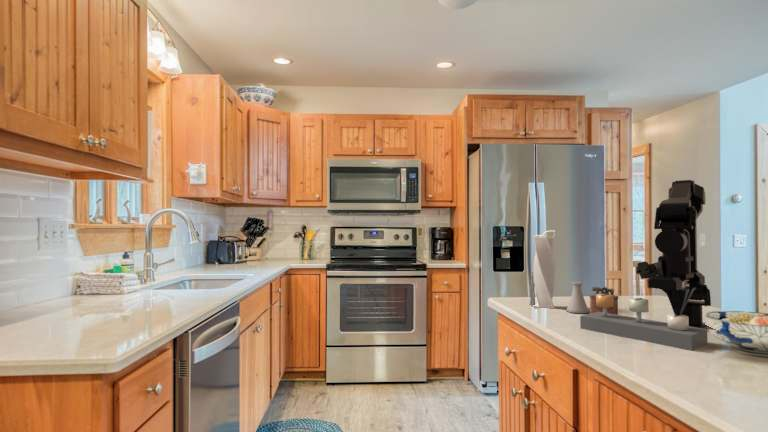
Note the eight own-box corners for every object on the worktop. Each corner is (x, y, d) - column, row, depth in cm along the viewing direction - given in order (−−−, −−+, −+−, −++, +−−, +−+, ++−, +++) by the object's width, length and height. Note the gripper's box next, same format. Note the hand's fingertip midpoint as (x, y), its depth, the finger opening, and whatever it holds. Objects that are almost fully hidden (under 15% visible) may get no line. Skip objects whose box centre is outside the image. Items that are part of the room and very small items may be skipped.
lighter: (619, 319, 131) (618, 287, 131) (618, 321, 128) (617, 288, 128) (590, 316, 135) (589, 285, 135) (589, 318, 132) (588, 286, 132)
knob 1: (601, 315, 122) (600, 292, 123) (616, 318, 119) (616, 294, 119) (593, 317, 120) (592, 294, 120) (609, 320, 116) (608, 296, 116)
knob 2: (671, 338, 108) (671, 312, 108) (692, 342, 104) (691, 315, 104) (664, 341, 105) (663, 314, 105) (685, 345, 101) (684, 317, 102)
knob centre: (634, 321, 115) (633, 296, 115) (651, 324, 111) (651, 298, 112) (626, 323, 112) (626, 298, 113) (644, 326, 109) (643, 300, 109)
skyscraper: (553, 305, 156) (551, 230, 156) (560, 310, 148) (558, 230, 148) (529, 305, 156) (528, 230, 157) (535, 309, 148) (534, 230, 149)
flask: (592, 314, 138) (591, 284, 139) (568, 313, 140) (568, 283, 140) (586, 310, 146) (585, 281, 146) (563, 309, 147) (563, 280, 147)
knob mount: (598, 323, 126) (598, 311, 126) (707, 343, 104) (707, 329, 104) (580, 328, 120) (580, 315, 120) (691, 350, 98) (691, 335, 98)
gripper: (656, 249, 117) (658, 305, 117) (624, 252, 106) (625, 314, 106) (704, 251, 108) (706, 312, 108) (674, 254, 97) (676, 322, 97)
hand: (677, 315), depth 105 cm, fingers closed, pressing on knob 2
